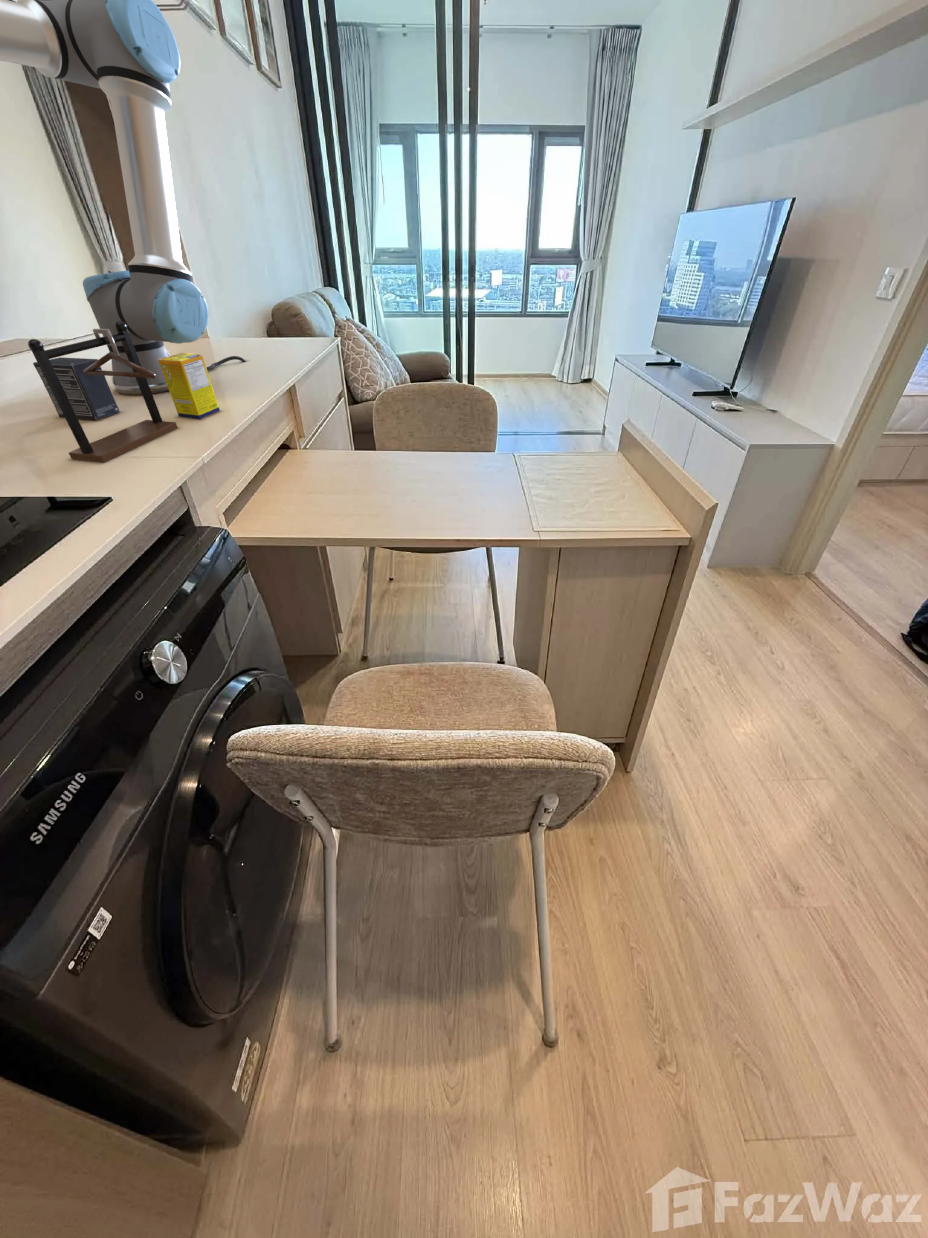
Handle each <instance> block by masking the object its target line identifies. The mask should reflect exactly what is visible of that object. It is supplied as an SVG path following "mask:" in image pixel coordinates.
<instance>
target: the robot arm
mask: <svg viewBox="0 0 928 1238" xmlns="http://www.w3.org/2000/svg"><path fill="white" fill-rule="evenodd" d="M0 61H1V62H6V63H11V64H16V65H20V66H21V65H22V66H27V67H32V68H35V69H36V70H37V71H38V72H39V73H40V74H41V75H43V76H44V77H47V78H50V79H57V80H60V81H65V82H70V83H74V84H79V85H83V86H85V87H91V88H95V89H101V91H102V92H103V93H104V94H105V96H107V98H108V100H109V101H110V105H111V110H112V117H113V122H114V131H115V137H116V143H117V150H118V155H119V162H120V169H121V174H122V175H121V176H122V180H123V189H124V193H125V194H124V195H125V201H126V206H127V207H126V208H127V212H128V219H129V226H130V232H131V238H132V246H133V251H134V256H133V258H132V259H131V260H130V261H129V262H128V263H127V265H128V266H127V267H128V270H120V271H111V272H106V273H100V274H95V275H90V276H86V277H85V278H84V279H83V280H82V287H83V291H84V293H85V298H86V300H87V302H88V304H89V306H90V308H91V310H92V313H93V315H94V318H95V320H96V323H97V325H98V327H99V328H98V329H109V330H110V332H111V335H113V334H117V333H118V332H117V330H116V328H115V323H116V322H117V321H122V322H124V323H125V324H126V326H127V330H128V332H129V335H130V337H131V340H132V343H133V345H134V348H135V350H136V353H137V356H138V358H139V361H140V363H141V366H142V368H144V369H146V370H148V371H150V372H152V373H154V374H155V375H156V377H155V378H154V379H153V378H146V379H147V382H148V384H149V387H150V390H151V392H152V394H158V393H163V392H164V393H165V392H168V391H169V389H168V386H167V383H166V380H165V378H164V375H163V372H162V369H161V367H160V364H159V361H158V359H161V358H165V357H168V356H171V354H170V353H169V351H168V350H167V349H166V345H165V343H171V344H176V345H177V344H184V343H186V344H187V343H193V342H197V340H199V339H200V338H201V337H202V335H203V334H204V333H205V332H206V329H207V327H208V323H209V309H208V308H209V307H208V304H207V301H206V298H205V297H204V296H203V295H202V292H201V290H200V289H199V288H198V287H197V286H196V285H195V284H194V283H193V275H192V272H191V271H190V270H189V269H188V268H187V267H186V265H184V263H183V256H182V255H183V254H182V249H181V239H180V232H179V223H178V216H177V209H176V200H175V199H176V198H175V193H174V192H175V191H174V185H173V184H174V183H173V176H172V168H171V161H170V153H169V152H170V151H169V145H168V135H167V128H166V120H165V115H166V114H167V113H168V111H169V110H170V109H171V108H172V99H171V89H170V84H171V83H173V82H174V81H175V80H176V79H177V77H178V76H179V74H180V71H181V57H180V51H179V48H178V44H177V40H176V38H175V35H174V32H173V31H172V28H171V27H170V24H169V23H168V22H167V20H166V19H165V17H164V15H163V13H162V11H161V10H160V8H159V7H158V5H156V3H155V2H154V0H17V1H13V0H0ZM101 335H102V337H104V336H107V334H101ZM115 345H116V347H117V350H118V352H119V355H120V357H122V358H124V359H126V360H128V357H127V355H126V352H125V350H124V347H123V345H122V342H121V341H120V342H116V343H115ZM106 347H107V349H108V353H109V352H112V353H114V352H113V349H112V347H111V344H108V345H106ZM234 360H237V361H240V362H242V363H246V362H247V360H246V359H245V358H243V357H241V356H237V355H231V356H227V357H224V358H223V359H220V360H219V361H217V362H213V363H211V364H210V365H209V366H206V368H207V371H208V372H209V371H212V370H214V368H215V367H218V366H221V365H223V364H226V363H228V362H229V361H234ZM110 361H111V371H122V372H133V370H132V368H131V367H129V366H126V365H124V364H122V363H120V362H118V361H116V360H114V359H111V360H110ZM128 361H129V360H128ZM111 381H112V384H113V386H114V389H115V390H116V392H117V393H118V394H120V395H125V396H127V395H128V396H141V395H142V393H141V390H140V388H139V385H138V383H137V380H136V378H135V377H123V376H111ZM169 392H170V391H169ZM142 396H143V395H142Z"/></svg>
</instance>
